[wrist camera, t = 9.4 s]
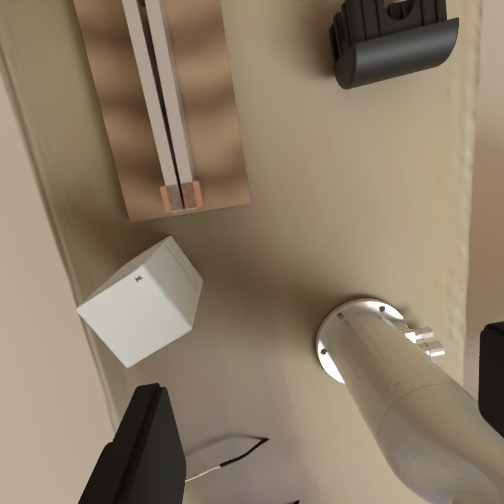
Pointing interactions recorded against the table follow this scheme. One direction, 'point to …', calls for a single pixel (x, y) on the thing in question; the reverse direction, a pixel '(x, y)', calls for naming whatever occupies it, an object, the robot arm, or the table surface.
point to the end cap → (389, 39)
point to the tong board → (190, 84)
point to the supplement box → (145, 303)
